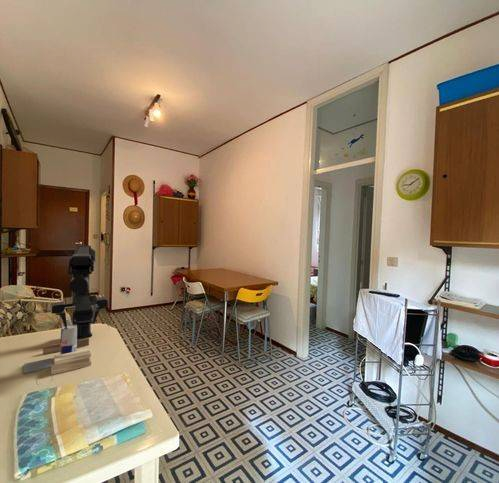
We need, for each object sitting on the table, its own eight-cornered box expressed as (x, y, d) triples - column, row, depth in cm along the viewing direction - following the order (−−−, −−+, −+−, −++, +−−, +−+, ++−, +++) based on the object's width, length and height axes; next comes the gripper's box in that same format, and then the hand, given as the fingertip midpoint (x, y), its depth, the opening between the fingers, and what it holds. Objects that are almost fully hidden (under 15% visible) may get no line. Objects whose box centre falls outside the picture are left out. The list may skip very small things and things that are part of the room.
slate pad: (24, 364, 99) (24, 363, 99) (51, 359, 104) (51, 358, 104) (23, 374, 93) (23, 372, 93) (52, 367, 98) (52, 366, 98)
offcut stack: (50, 368, 97) (50, 356, 97) (88, 360, 105) (89, 348, 105) (51, 374, 93) (51, 362, 93) (90, 365, 101) (91, 353, 101)
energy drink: (57, 357, 106) (58, 327, 105) (71, 352, 110) (72, 323, 110) (65, 361, 103) (65, 330, 103) (79, 355, 108) (80, 326, 108)
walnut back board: (42, 353, 108) (42, 346, 108) (88, 344, 118) (88, 337, 118) (42, 354, 108) (43, 347, 107) (88, 345, 118) (88, 338, 117)
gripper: (53, 294, 93) (52, 338, 94) (111, 288, 105) (110, 327, 106) (50, 288, 102) (50, 328, 102) (105, 283, 114) (104, 319, 114)
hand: (80, 326), depth 106 cm, fingers open, 9 cm apart
